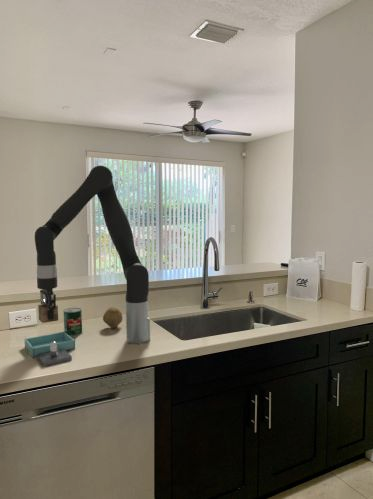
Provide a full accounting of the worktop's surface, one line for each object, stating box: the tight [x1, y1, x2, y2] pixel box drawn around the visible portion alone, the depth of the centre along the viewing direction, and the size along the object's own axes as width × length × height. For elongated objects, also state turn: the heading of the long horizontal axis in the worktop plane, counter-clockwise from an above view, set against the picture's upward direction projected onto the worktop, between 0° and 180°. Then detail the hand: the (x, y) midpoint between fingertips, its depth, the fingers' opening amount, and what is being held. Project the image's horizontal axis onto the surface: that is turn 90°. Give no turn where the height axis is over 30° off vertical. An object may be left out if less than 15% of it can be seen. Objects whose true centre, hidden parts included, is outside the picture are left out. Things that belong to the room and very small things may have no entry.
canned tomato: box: [63, 307, 83, 337], centre depth 166 cm, size 8×8×11 cm
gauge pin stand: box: [36, 342, 73, 368], centre depth 136 cm, size 10×10×7 cm
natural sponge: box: [102, 306, 123, 329], centre depth 175 cm, size 9×9×10 cm
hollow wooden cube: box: [37, 304, 59, 324], centre depth 147 cm, size 6×6×6 cm
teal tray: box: [24, 331, 76, 359], centre depth 148 cm, size 16×14×4 cm
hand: (48, 317), depth 147 cm, fingers closed on hollow wooden cube, 6 cm apart
